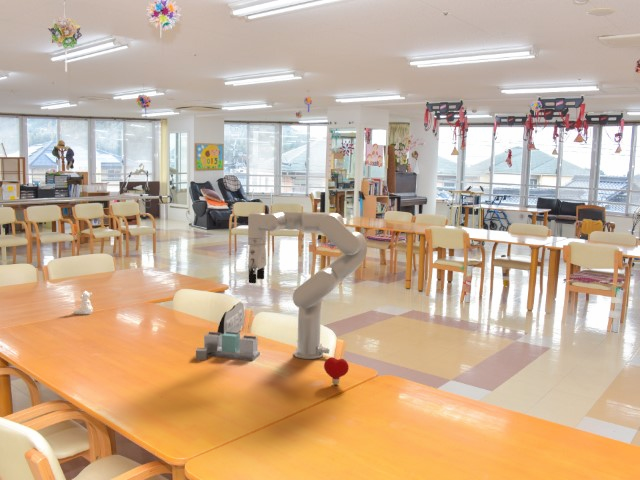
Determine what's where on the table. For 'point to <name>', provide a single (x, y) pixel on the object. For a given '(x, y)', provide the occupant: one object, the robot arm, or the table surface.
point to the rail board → (245, 353)
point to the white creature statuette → (85, 304)
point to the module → (231, 342)
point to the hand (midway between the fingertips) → (256, 280)
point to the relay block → (201, 354)
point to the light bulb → (336, 369)
